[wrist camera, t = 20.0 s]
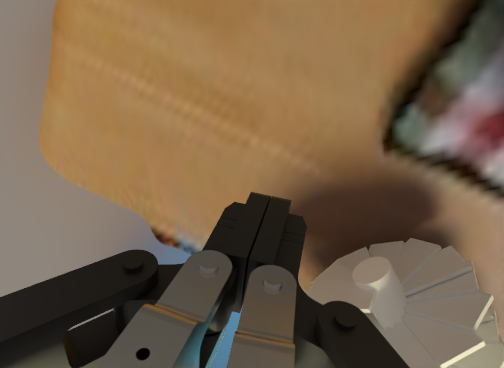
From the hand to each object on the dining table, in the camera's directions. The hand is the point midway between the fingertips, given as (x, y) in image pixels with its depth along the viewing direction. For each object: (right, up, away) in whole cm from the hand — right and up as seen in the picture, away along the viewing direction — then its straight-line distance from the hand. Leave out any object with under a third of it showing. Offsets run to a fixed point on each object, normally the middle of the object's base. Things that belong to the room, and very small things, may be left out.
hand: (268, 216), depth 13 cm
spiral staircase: (+20, -14, +34) cm, 42 cm away
